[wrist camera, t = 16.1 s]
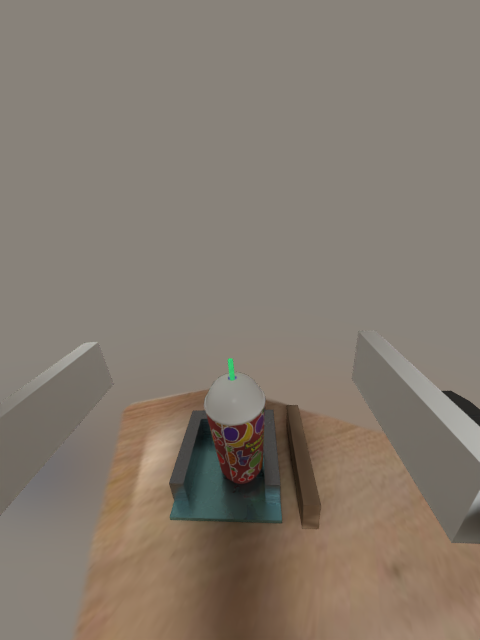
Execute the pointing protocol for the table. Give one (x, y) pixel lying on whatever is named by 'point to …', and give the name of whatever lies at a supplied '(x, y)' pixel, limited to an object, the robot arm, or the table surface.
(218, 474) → the keyed cradle
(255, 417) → the smoothie
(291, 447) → the walnut rail
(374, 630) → the table surface
